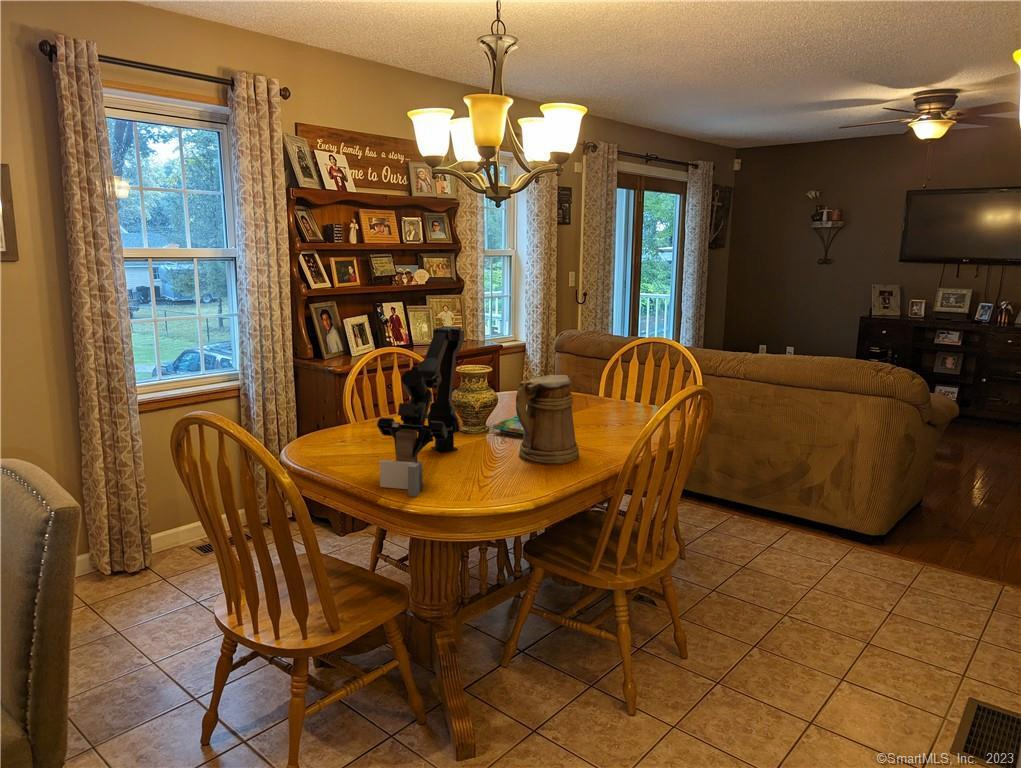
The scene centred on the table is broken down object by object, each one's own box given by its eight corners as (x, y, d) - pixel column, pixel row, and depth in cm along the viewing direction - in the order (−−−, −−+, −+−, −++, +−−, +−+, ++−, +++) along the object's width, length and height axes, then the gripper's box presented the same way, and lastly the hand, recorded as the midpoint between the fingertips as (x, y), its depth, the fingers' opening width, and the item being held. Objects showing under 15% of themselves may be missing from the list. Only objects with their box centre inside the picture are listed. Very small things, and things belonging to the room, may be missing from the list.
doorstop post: (402, 474, 193) (401, 428, 191) (417, 476, 193) (417, 429, 190) (396, 479, 189) (395, 433, 187) (412, 481, 188) (411, 434, 186)
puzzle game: (550, 415, 252) (523, 427, 235) (550, 428, 253) (522, 440, 236) (521, 411, 257) (493, 422, 240) (521, 423, 258) (492, 435, 241)
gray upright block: (415, 497, 180) (415, 467, 179) (408, 496, 181) (407, 466, 179) (419, 493, 183) (419, 463, 182) (412, 492, 184) (411, 462, 182)
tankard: (590, 456, 218) (593, 377, 213) (540, 473, 201) (542, 387, 196) (546, 444, 230) (548, 369, 225) (495, 459, 213) (496, 378, 209)
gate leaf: (423, 488, 186) (423, 462, 185) (421, 490, 184) (420, 464, 183) (382, 484, 189) (382, 458, 187) (379, 487, 187) (379, 460, 185)
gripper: (378, 388, 192) (362, 438, 184) (444, 392, 188) (431, 443, 180) (390, 410, 201) (375, 458, 193) (452, 414, 197) (440, 464, 189)
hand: (404, 455), depth 188 cm, fingers closed on doorstop post, 4 cm apart
